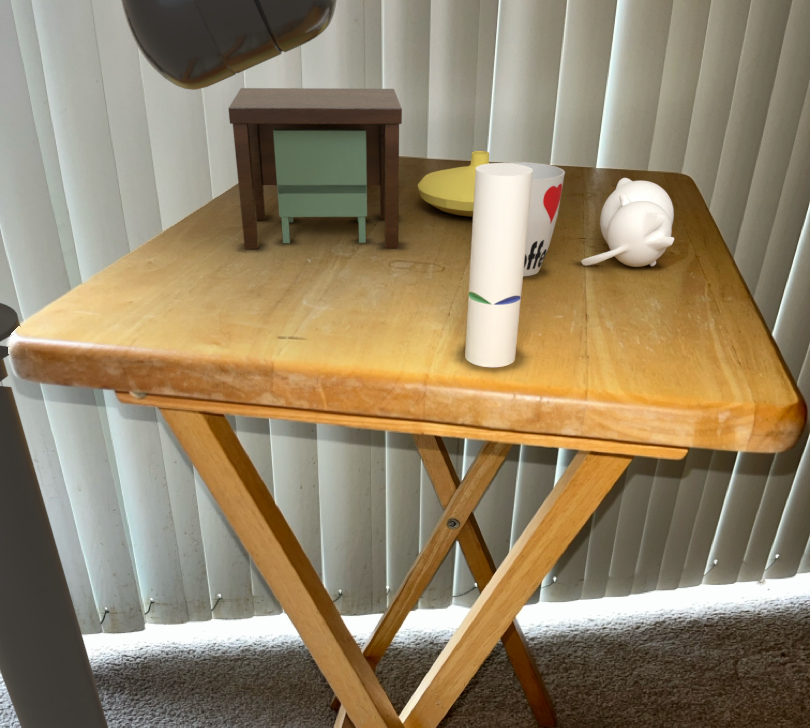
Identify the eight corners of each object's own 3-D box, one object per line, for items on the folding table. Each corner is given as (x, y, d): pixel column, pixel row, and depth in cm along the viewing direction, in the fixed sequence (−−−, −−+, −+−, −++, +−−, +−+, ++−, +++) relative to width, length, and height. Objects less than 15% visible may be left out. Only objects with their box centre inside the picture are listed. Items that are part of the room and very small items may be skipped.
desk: (400, 248, 96) (401, 108, 88) (242, 250, 95) (228, 107, 87) (393, 215, 108) (394, 88, 99) (252, 216, 107) (240, 88, 98)
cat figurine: (662, 183, 83) (652, 154, 93) (563, 236, 88) (564, 203, 97) (694, 260, 87) (682, 225, 97) (599, 307, 92) (596, 269, 101)
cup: (496, 284, 87) (503, 181, 81) (467, 260, 93) (472, 164, 87) (566, 277, 89) (579, 176, 83) (533, 254, 95) (543, 159, 89)
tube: (467, 345, 74) (478, 161, 65) (516, 349, 73) (534, 164, 64) (462, 365, 70) (472, 174, 62) (513, 369, 70) (531, 177, 61)
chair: (367, 243, 98) (366, 130, 91) (281, 244, 97) (273, 130, 90) (365, 219, 106) (363, 114, 99) (285, 220, 105) (278, 114, 98)
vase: (561, 219, 107) (568, 160, 103) (452, 233, 102) (455, 171, 97) (498, 191, 119) (502, 137, 115) (397, 202, 113) (397, 145, 109)
